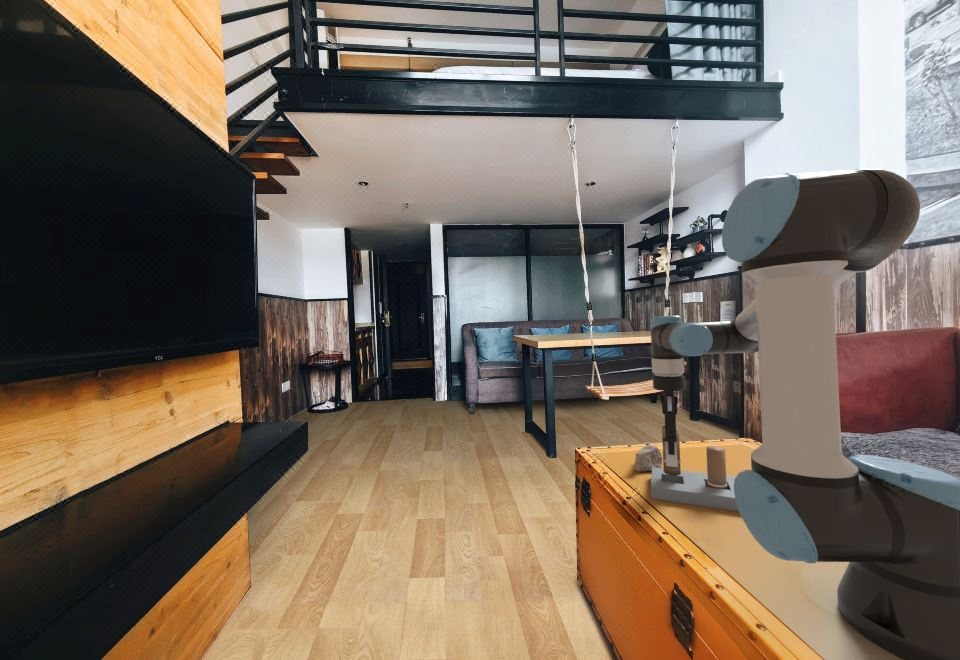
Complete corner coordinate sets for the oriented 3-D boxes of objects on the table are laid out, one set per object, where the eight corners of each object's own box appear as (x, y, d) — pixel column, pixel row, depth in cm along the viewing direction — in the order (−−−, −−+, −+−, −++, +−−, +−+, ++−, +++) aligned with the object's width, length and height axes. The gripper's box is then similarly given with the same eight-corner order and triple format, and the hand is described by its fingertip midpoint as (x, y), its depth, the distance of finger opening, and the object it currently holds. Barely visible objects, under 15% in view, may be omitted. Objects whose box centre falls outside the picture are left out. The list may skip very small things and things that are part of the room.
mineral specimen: (658, 477, 107) (657, 456, 107) (632, 473, 111) (631, 452, 111) (665, 463, 117) (664, 443, 117) (641, 459, 121) (640, 440, 121)
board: (747, 512, 85) (745, 460, 85) (651, 498, 94) (649, 451, 94) (736, 487, 98) (734, 442, 98) (652, 477, 107) (650, 435, 107)
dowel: (681, 476, 96) (679, 429, 95) (663, 474, 97) (661, 428, 97) (680, 470, 99) (678, 425, 99) (663, 468, 101) (661, 424, 101)
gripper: (686, 379, 89) (690, 477, 89) (682, 370, 104) (685, 453, 104) (651, 378, 92) (655, 473, 92) (653, 370, 107) (656, 450, 108)
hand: (671, 462), depth 98 cm, fingers closed on dowel, 4 cm apart
